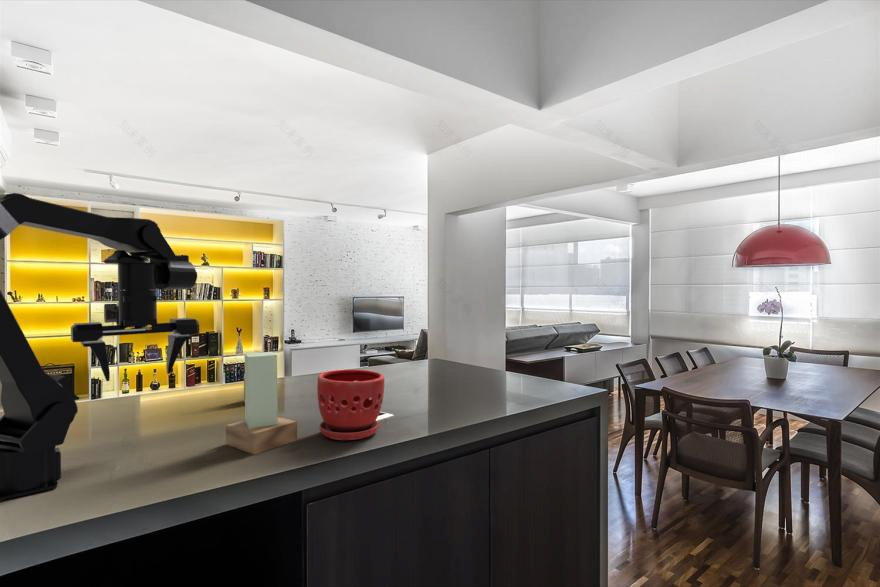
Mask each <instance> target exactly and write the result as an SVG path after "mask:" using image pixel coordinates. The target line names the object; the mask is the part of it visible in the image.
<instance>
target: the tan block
mask: <svg viewBox="0 0 880 587" xmlns="http://www.w3.org/2000/svg"><path fill="white" fill-rule="evenodd" d="M297 441H298V421H296V420H293V419H290V418H289V419H288V418H284V417H280V416H278V425H271V426H264V427H257V428H250V429H249V428H248V426H247V424H246V422H245V419H244V420H241V421H237V422H233V423H229V424H225V445H227V446H229V447H233V448H235V449H238V450H240V451H243V452H247V453H249V454H253V455H257V454H260V453H263V452H266V451H269V450H273V449H275V448H278V447H282V446H285V445H287V444H291V443H293V442H297Z"/></svg>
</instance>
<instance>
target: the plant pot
mask: <svg viewBox="0 0 880 587" xmlns="http://www.w3.org/2000/svg"><path fill="white" fill-rule="evenodd" d="M316 389H317V401H318V409H319V413H320V416H321V419H322V420H323V421H322V422H321V423H319V427H318V428H319V431H320V432H321V434H322V435H323V436H325V437H326V438H330V439H332V440H336V441H338V440H339V441H355V440H356V441H357V440H361V439H365V438H369V437H370V436H372V435H373V434H375V433H376V431H377V430H378V429H379V427H380V426H379V421H376V419H377V417H378V415H379V412H381V409H382V405H383V401H384V400H383V399H384V393H385V375H384V374H382V372H378V371H374V370H365V369H335V370H327V371H324V372H321V373H320V374H318V376H317V386H316Z"/></svg>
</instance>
